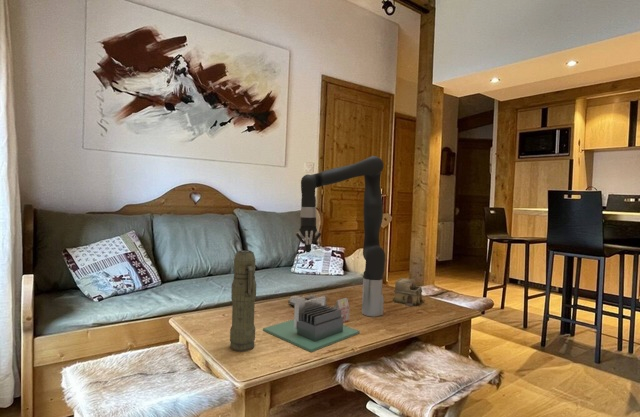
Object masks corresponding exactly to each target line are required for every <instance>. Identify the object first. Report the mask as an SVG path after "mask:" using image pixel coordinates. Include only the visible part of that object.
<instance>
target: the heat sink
mask: <svg viewBox="0 0 640 417" xmlns="http://www.w3.org/2000/svg"><path fill="white" fill-rule="evenodd" d="M289 298H290V299H289V300H290V302H292V303H295V304H296V306H294V309H295V320H296V321H297V330H296V329H294V318H293V319H290V320H288V321H283V322H279V323H275V324H273V325H269V326H266V327H263V328H262V331H263V332H266V333H268V334H270V335H272V336H274V337H276V338H279V339H281V340H282V341H285V342H287V343H289V344H291V345H294V346H296V347H299V348H301V349H303V350H305V351H307V352H310V353H313V352H315V351H319V350H320V349H323V348H326V347H329V346H331V345H333V344H336V343H338V342H341V341H344V340H346V339H349V338H351V337H355V336H357V335H358V334H360V332H361V331H360V330H359V329H358V330H357V329H355V328H352V327H350V326H347V325H344V322H343V317H341V309H340V310H338V308H335V309H334V306H332V307H331V306H330V305H327V304H326V305H323V306H320V307H316V308H313V309H309V310H305V311H304V309H305V298H306V297H302V296H299V295H292V296H290V297H289Z"/></svg>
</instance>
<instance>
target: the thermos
mask: <svg viewBox="0 0 640 417" xmlns="http://www.w3.org/2000/svg"><path fill="white" fill-rule="evenodd" d="M233 273H234V275H233V279H232V283H231V295H230V296H231V297H230V298H231V301H232V302H231V303H232V304H231V306H232V307H231V308H232V310H231V314H232V315H231V316H232V317H231V327H230V331H229V341H230V345H229V347H230V350H232V351H234V352H240V353H241V352H242V353H243V352H248V351H251V350H253V349H254V348H255V341H256V326H255V301H256V300H257V281H256V277H255V273H256V256H255V253H254V251H252V250H249V249H247V250H246V249H245V250H243V249H242V250H241V249H240V250H238V251H237V252H236V253H235V255H234V259H233Z"/></svg>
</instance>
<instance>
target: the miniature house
mask: <svg viewBox="0 0 640 417" xmlns="http://www.w3.org/2000/svg"><path fill="white" fill-rule="evenodd" d="M415 280H416V279H412V278H406V277H401V278H399V279H397V280H396V281H394V290H393V292H394V296H393V298H392V301H393V303H394V304H396V303H397V304H401V305H404V306H406V307H407V306H408V307H417V306H422V305H421V304H423V303H424V299H423V289H422V286H417V285H416V281H415Z"/></svg>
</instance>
